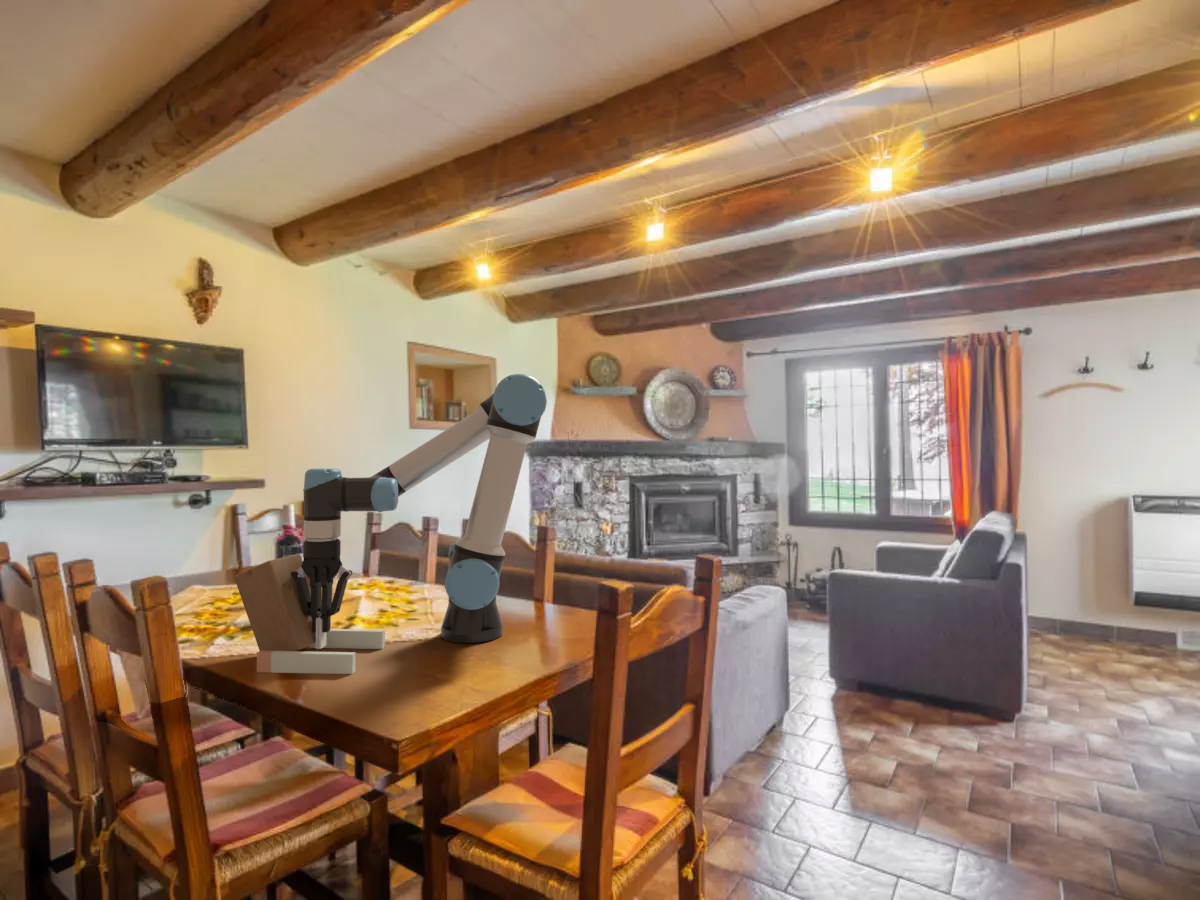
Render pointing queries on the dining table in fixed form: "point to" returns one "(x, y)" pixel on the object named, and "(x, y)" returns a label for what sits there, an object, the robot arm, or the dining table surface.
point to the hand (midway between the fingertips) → (321, 646)
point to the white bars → (323, 654)
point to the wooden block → (276, 605)
